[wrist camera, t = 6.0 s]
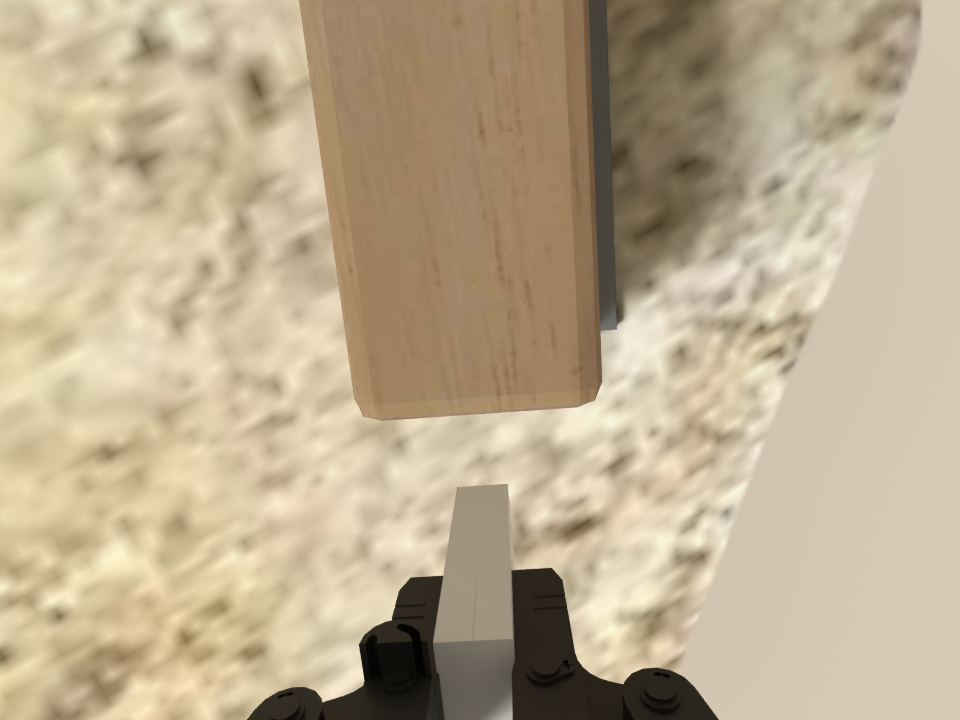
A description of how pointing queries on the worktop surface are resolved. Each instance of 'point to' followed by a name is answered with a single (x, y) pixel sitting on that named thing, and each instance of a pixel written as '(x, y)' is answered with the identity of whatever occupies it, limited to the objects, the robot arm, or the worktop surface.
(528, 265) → the wooden block
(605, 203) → the mat
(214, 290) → the worktop surface
